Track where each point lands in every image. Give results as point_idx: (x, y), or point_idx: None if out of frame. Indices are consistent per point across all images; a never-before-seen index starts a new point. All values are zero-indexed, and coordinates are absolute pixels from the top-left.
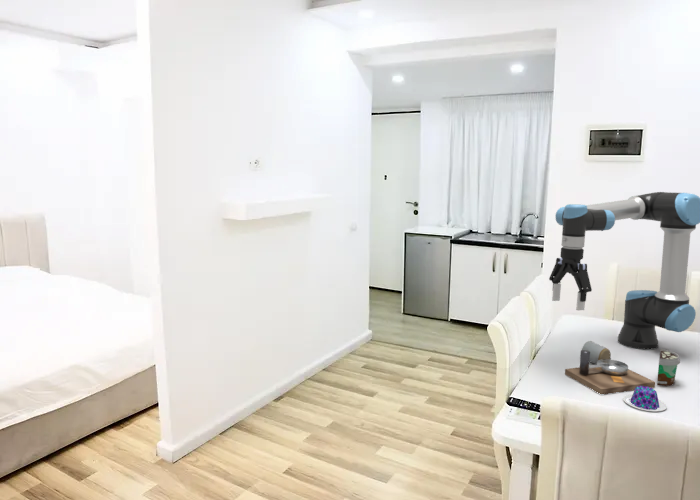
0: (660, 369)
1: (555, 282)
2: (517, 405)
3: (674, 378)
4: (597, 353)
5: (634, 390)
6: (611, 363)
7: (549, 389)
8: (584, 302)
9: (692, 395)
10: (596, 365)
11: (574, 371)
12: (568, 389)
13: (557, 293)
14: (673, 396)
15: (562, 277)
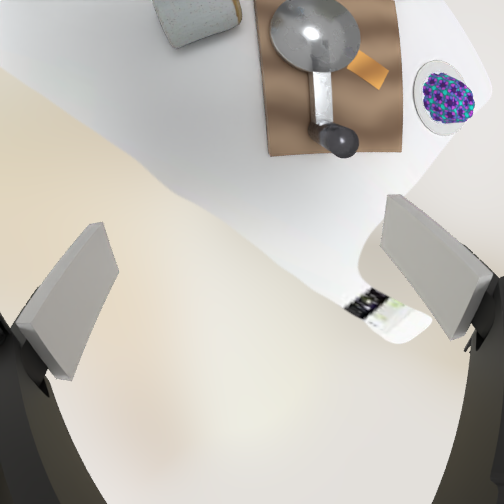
0: None
1: (41, 374)
2: (366, 312)
3: None
4: (231, 20)
5: (445, 110)
6: (312, 29)
7: (338, 238)
8: (433, 224)
9: None
10: (317, 84)
11: (293, 141)
12: (351, 199)
13: (87, 281)
14: (427, 14)
15: (33, 418)
